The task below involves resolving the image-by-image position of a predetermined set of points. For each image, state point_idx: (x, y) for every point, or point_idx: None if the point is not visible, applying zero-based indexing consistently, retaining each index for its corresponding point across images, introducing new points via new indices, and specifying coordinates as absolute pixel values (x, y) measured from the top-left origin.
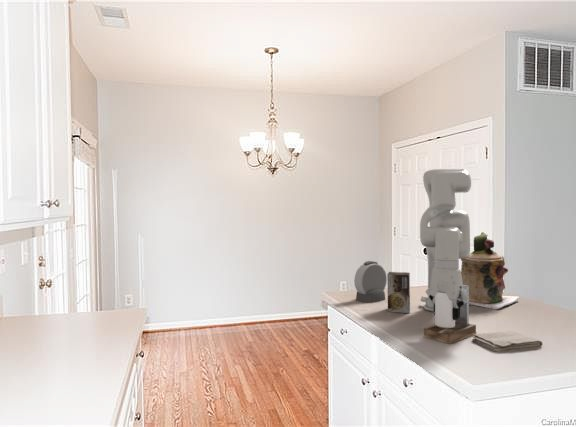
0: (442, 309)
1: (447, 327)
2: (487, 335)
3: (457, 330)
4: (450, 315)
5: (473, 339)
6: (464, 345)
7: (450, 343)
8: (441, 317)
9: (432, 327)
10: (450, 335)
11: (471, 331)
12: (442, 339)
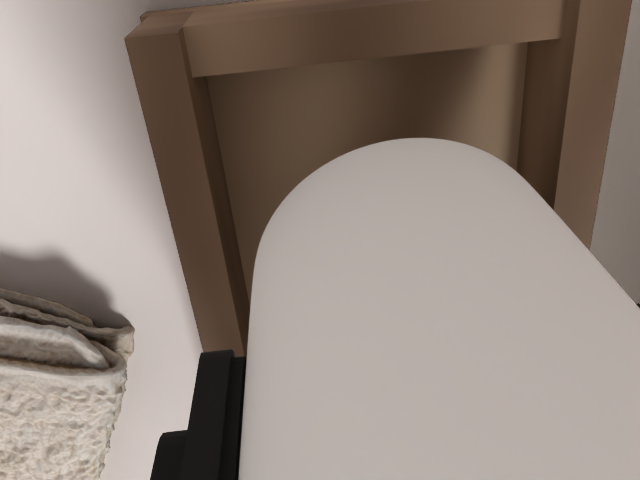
0: (423, 364)
1: (289, 194)
2: (5, 448)
3: (228, 297)
4: (256, 371)
5: (105, 330)
6: (34, 123)
7: (151, 14)
8: (405, 225)
9: (553, 157)
10: (128, 40)
11: None
12: (272, 2)
